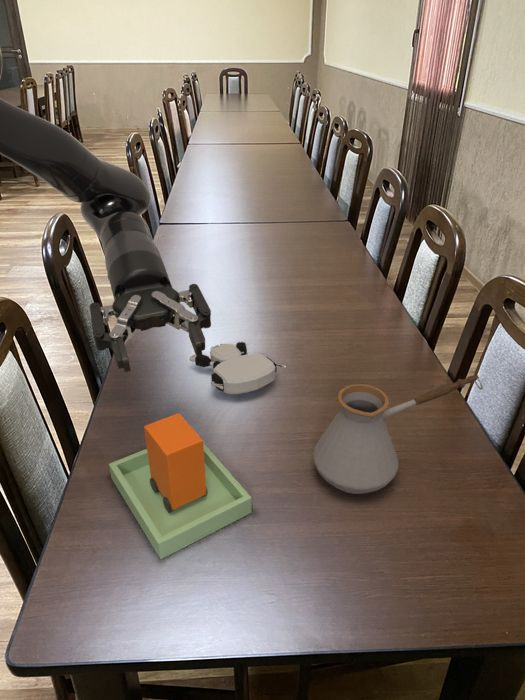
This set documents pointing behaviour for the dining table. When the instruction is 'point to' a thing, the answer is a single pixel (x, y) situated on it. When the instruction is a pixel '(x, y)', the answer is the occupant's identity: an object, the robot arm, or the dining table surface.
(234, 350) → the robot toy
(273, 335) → the dining table surface
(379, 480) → the coffee pot
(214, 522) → the green square tray
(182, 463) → the toy van
